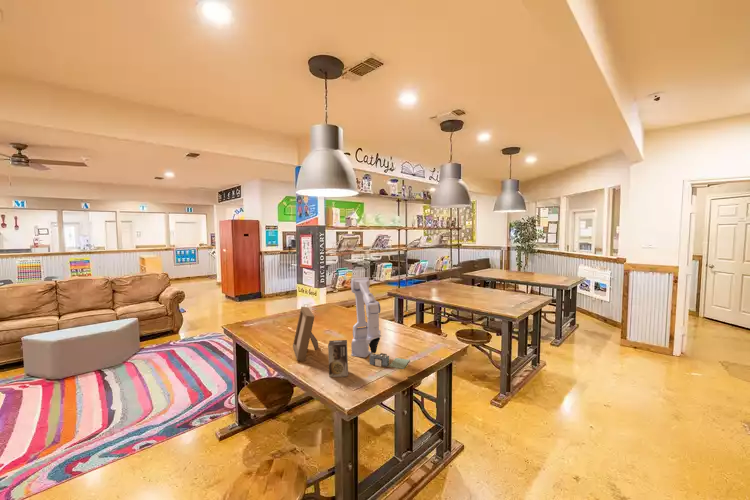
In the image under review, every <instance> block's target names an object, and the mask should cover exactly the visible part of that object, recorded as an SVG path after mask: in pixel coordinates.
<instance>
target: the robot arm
mask: <svg viewBox="0 0 750 500" xmlns="http://www.w3.org/2000/svg"><path fill="white" fill-rule="evenodd" d="M370 285H371V282H370V278H369V277H368V276H364V277H352V278H351V279H350V289H351V293H353V294H354V296H355V306H356V307H355V309H356V311H355V312H356V321H357V322H355V324H354V325H353V326H352V337H353V338H352V340H351V349H350V350H351V354H350V356H352V357H354V356H355V357H360V358H365V359H366V358H367V357H368V356H369V355H370V354H371V353H373V354H377V350H378V345H379V342H380V340H381V337H382V334H381V333H382V332H381V330H380V319H379V318H380V314H381V309H382V308H381V304H380V302H379V301H378V300H376V298H375V295H374V293H372V292H370V289H369V288H370ZM366 317H367V321H366Z"/></svg>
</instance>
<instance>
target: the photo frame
mask: <svg viewBox="0 0 750 500" xmlns="http://www.w3.org/2000/svg"><path fill="white" fill-rule="evenodd" d="M314 322H315V314H313V312H312V310H311V309H310V307H307V306H301V307H300V312H299V316H298V321H297V326H296V329H295V330H296V331H295V334H294V339H293V342H292V348H293V351H294V355H295V358H296V361H301V362H305V361H306V357H307V354H308V349H309V344H310V341H311V343H312V345H313V348H314V350H315V351H317V350H318V348H319V342H318V339H317V338H316V336H315V335H314V334H313V332H312V331H313V330H312V329H313V325H314Z"/></svg>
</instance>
